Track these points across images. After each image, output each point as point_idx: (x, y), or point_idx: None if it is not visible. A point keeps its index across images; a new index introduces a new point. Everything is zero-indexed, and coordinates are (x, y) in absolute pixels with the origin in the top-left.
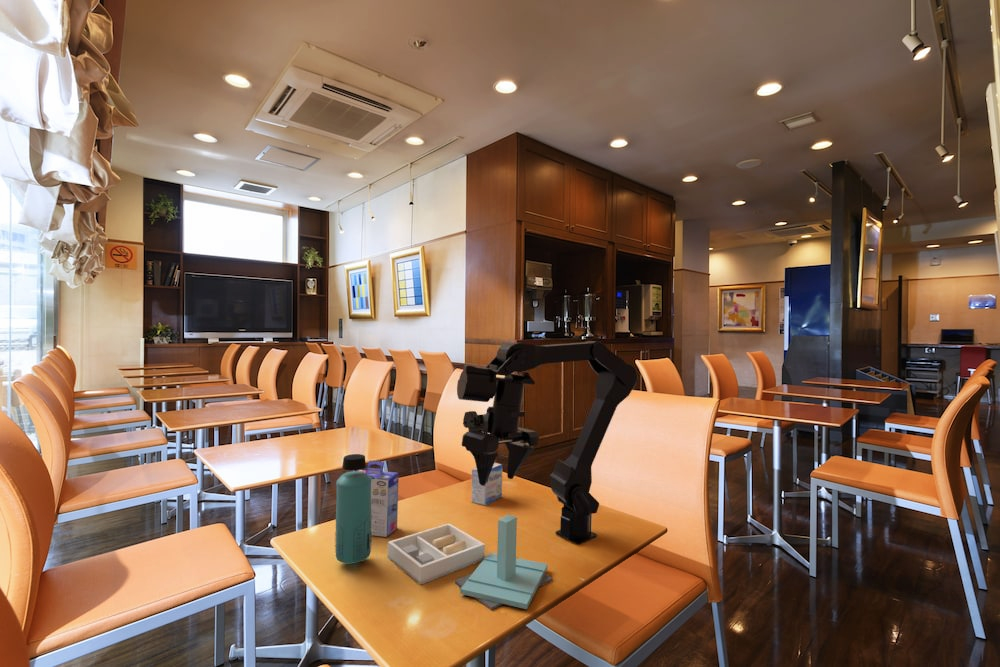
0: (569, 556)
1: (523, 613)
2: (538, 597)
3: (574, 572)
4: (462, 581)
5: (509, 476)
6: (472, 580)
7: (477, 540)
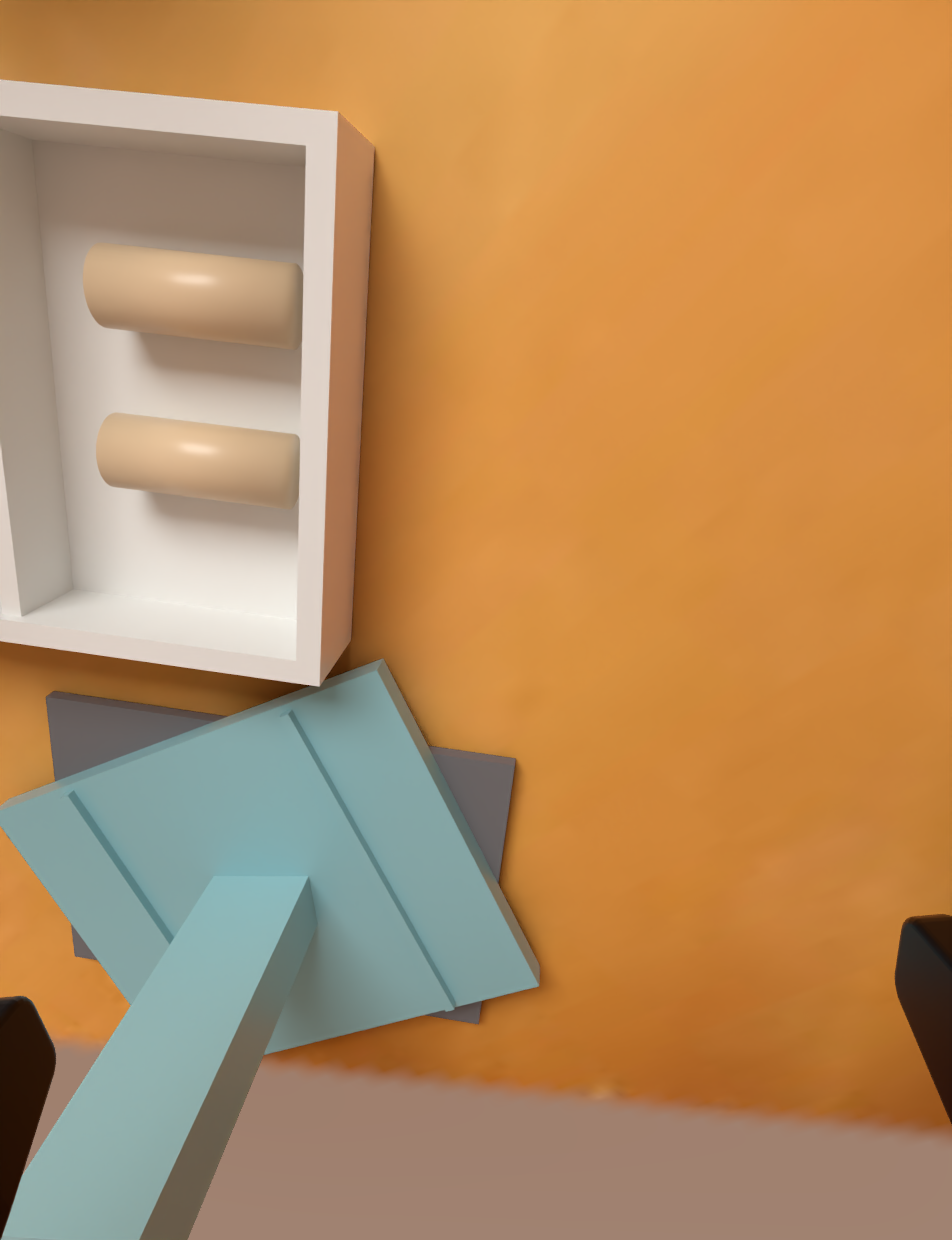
0: (778, 967)
1: None
2: None
3: (629, 1051)
4: (75, 735)
5: (918, 983)
6: (76, 818)
7: (315, 607)
